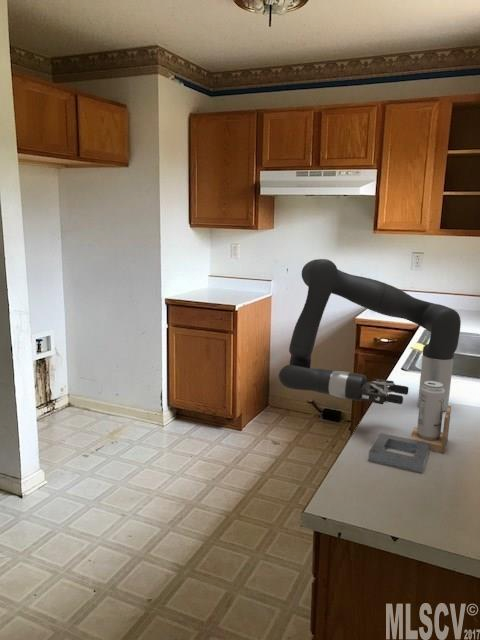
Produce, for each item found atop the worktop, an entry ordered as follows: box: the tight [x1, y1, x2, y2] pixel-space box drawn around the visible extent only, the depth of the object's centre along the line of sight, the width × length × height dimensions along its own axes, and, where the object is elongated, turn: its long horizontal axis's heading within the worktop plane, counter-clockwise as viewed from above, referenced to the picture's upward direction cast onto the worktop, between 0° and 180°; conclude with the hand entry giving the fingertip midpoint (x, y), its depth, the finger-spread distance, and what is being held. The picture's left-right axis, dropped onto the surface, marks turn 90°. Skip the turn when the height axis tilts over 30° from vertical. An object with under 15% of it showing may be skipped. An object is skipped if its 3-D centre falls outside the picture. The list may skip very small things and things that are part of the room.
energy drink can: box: [417, 381, 445, 440], centre depth 141 cm, size 6×6×15 cm
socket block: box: [368, 432, 430, 474], centre depth 135 cm, size 13×13×2 cm
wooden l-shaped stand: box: [408, 405, 452, 454], centre depth 142 cm, size 9×9×10 cm
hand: (405, 395), depth 143 cm, fingers open, 8 cm apart
